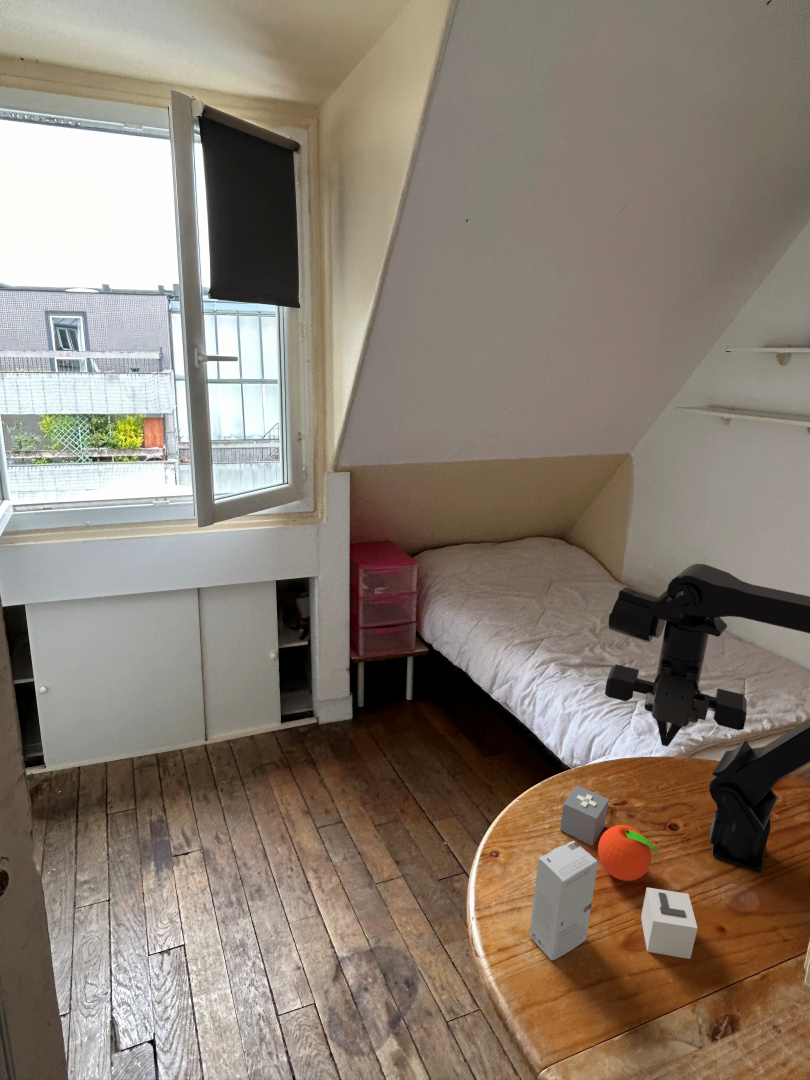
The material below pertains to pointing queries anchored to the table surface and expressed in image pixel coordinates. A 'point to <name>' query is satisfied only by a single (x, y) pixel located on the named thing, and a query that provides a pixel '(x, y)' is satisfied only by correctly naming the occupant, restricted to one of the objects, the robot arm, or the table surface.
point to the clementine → (625, 852)
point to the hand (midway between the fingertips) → (664, 744)
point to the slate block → (584, 815)
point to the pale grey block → (668, 923)
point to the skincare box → (562, 899)
